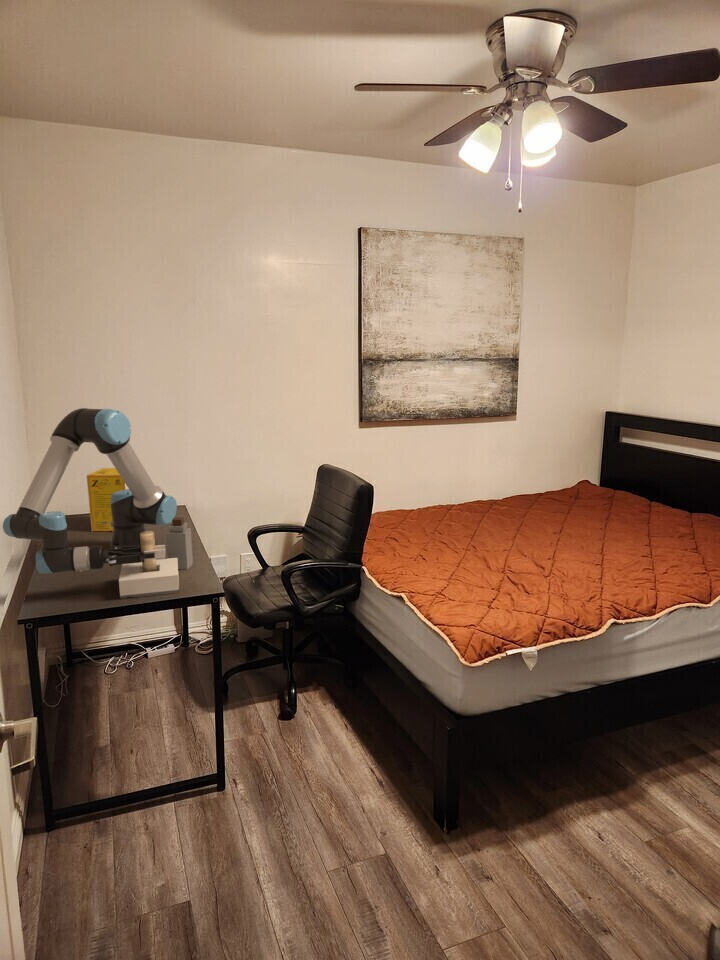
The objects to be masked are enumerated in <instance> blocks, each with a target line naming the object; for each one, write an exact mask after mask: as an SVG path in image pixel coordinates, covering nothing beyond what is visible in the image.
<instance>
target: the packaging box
mask: <svg viewBox="0 0 720 960" xmlns="http://www.w3.org/2000/svg"><path fill="white" fill-rule="evenodd" d="M85 477H86V484H87V485H86V486H87V495H88V505H89V516H90V526H91V532H92V531H113V520H112V511H111V495H112V494H113V493H114V492H117V491H121V490H126V489H129V488H128V487H127V485H126V484H125V482H124V481H123V479H122V478H121V476H120V474H119V473H118V471H117V470H116V468H115V467H113V468H111V467H105V468H104V467H102V468H100V469H98V470H95V471H93V472H91V473H89V474H87V475H86V476H85Z"/></svg>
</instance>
